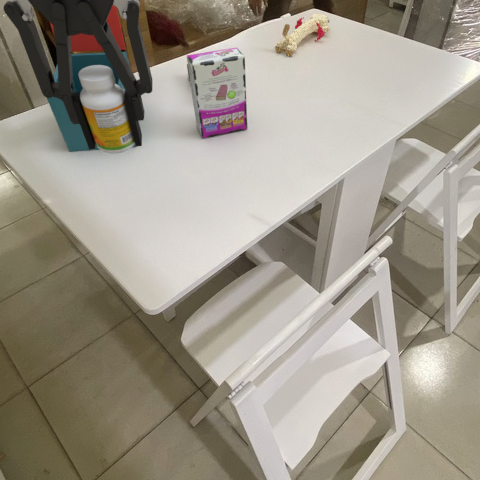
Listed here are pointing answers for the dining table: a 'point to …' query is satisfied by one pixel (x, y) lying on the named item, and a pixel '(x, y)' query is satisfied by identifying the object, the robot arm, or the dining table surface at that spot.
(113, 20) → the lid
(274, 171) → the dining table surface
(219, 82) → the candy bar box
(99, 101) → the supplement bottle
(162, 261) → the dining table surface
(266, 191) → the dining table surface
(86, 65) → the teal open box
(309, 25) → the fuzzy plush toy
